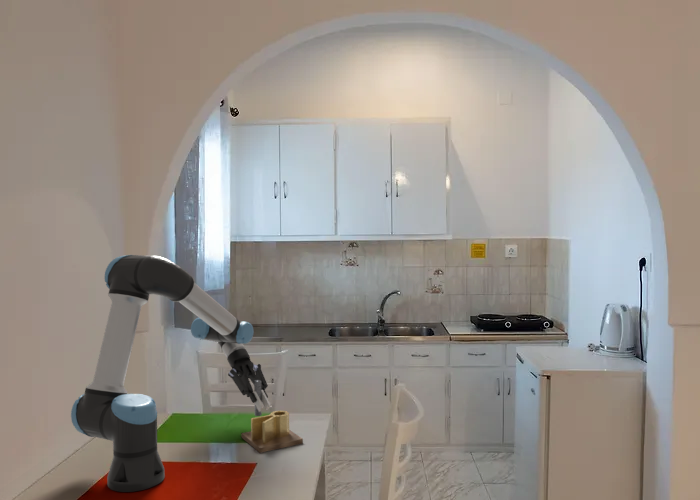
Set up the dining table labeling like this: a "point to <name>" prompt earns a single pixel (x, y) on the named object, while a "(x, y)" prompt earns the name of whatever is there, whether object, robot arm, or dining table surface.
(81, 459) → the dining table surface
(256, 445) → the walnut board
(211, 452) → the dining table surface
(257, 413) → the hinge pin
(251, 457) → the dining table surface
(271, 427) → the brass hinge
